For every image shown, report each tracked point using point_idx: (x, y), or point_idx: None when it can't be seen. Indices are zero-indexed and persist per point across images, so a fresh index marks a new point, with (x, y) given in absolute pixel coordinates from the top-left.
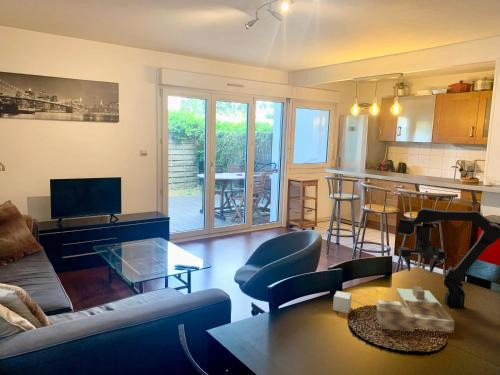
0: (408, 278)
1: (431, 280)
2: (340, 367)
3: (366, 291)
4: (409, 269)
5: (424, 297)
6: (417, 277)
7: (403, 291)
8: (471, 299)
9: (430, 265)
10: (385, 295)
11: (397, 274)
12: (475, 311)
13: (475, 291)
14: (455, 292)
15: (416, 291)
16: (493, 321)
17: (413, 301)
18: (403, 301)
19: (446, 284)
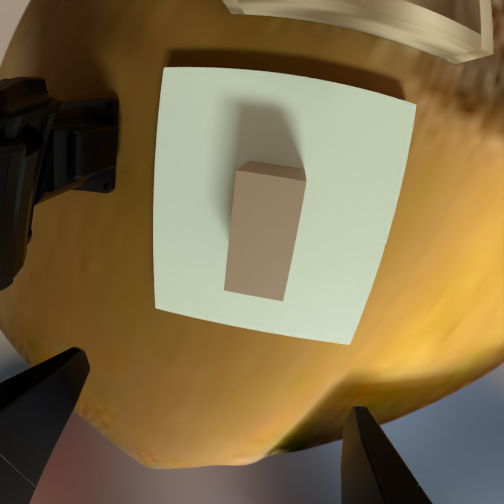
0: (202, 434)
1: (117, 405)
2: None
3: (495, 320)
4: (366, 424)
5: (225, 204)
6: (163, 432)
7: (334, 302)
8: None
9: (52, 427)
10: (444, 278)
11: (234, 458)
12: None
13: (3, 301)
14: (27, 79)
15: (301, 205)
16: (24, 18)
17: (424, 8)
18: (491, 27)
19: (24, 142)
